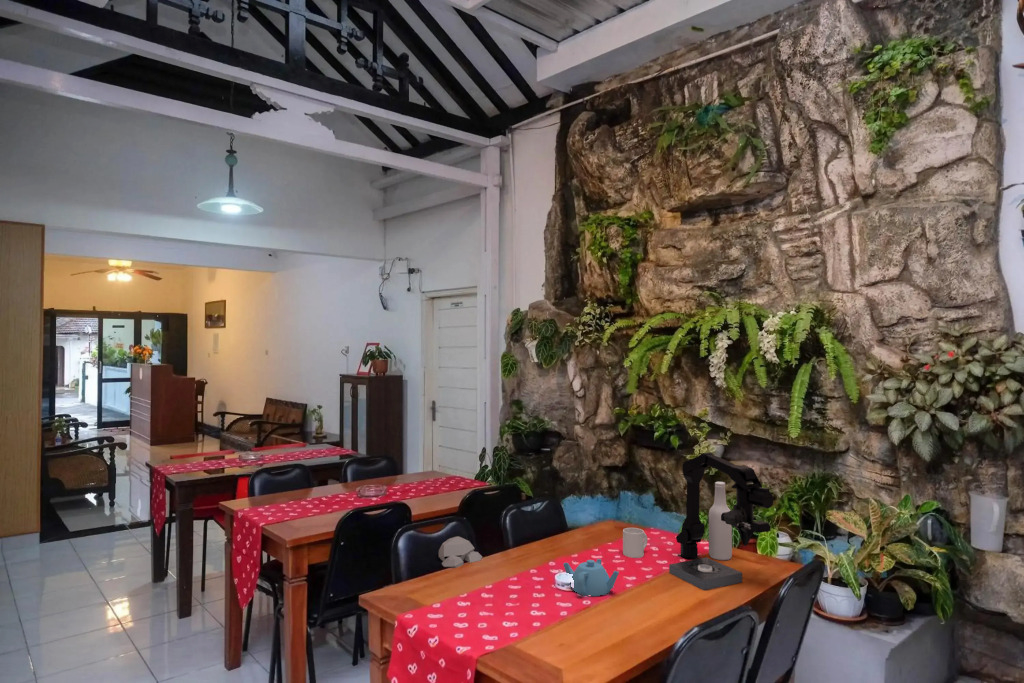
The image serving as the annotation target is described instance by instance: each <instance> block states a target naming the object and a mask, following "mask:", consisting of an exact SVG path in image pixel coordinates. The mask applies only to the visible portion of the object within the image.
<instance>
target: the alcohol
mask: <svg viewBox="0 0 1024 683" xmlns="http://www.w3.org/2000/svg"><path fill="white" fill-rule="evenodd" d="M726 495H727V494H726V482H724V481H716V482H714V497H713V498H714V500H713V504H712V506H711V507H710V508H709V511H708V556H710V559H711V558H712V560H713V559H714V560H715V561H716V560H717V561H729V560H731V558H732V557H733V541H732V540H733V526H731V525H729V524H726V522H725V521H722V520H721V515H722V513H725V512H729V511H731V509H730V508H729V507H728V505H727V497H726Z"/></svg>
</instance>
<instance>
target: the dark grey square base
mask: <svg viewBox="0 0 1024 683" xmlns="http://www.w3.org/2000/svg"><path fill="white" fill-rule="evenodd" d="M699 565H709V566H711V567H712V572H704V571H699V570H698V566H699ZM668 566H669V569H668V570H669V571H668V572H669V574H671V575H673V576H675V577H676V578H679V579H681V580H682V581H684V582H686V583H688V584H691V585H692V586H694V587H696V588H698V589H699V590H702V591H709V590H713V589H718V588H722V587H726V586H731V585H736V584H741V583H743V572H741V571H740V570H737V569H735V568H733V567H730V566H728V565H725V564H723V563H721V562H719V561H716V560H715V559H714V560H713V559H711V558H708V557H700V558H697V559H692V560H686V561H680V562H674V563H670V564H669V565H668Z"/></svg>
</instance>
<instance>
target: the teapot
mask: <svg viewBox="0 0 1024 683" xmlns="http://www.w3.org/2000/svg"><path fill="white" fill-rule="evenodd" d="M562 565H563V567H564V571H565V573H569V574H573V576H572V578H573V580H574V588H573V590H574V591H575V592H574V591H573V590H572V591H573V592H574V593H576V592H577V593H576V594H578V593H579V594H578V595H581V594H583V595H582V596H585V595H591V596H590V597H601V596H600V595H603V596H605V594H606V595H608V594H609V592H611V590H612V589H613V588H614V586H615V584H616V581H617V578H618V576H619V573H620V571H618V570H614V571H613V573H612V574H611V575H610V576H609V574H608V572H607V570H606V569H605V567H604V566H603V564H602V559H601V558H597V559H596V561H595V560H593V559H587V560H586V561H585V562H581V563H579V564H578V565H577V567H576V568H575V570H574V569H573V568H572V567H571V566H570V564H569V562H563V564H562ZM607 593H608V594H607Z"/></svg>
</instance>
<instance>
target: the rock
mask: <svg viewBox="0 0 1024 683" xmlns="http://www.w3.org/2000/svg"><path fill="white" fill-rule="evenodd" d="M445 557H447V558H445ZM438 558H439V559H440V561H442V562H441V565H442V566H443V567H444V568H453V569H454V568H459V567H462V566H464V561H466V562H468V563H475V562H480V561H481V560H482V558H483V556H482V555H481V554H480V553H479V551H475V547H474V545H473V544H472V543H471V541H470V540H468V539H465V538H463V537H461V536H460V535H459V536H453V537H450V538H448V539H446V541H444V542H443V543H442V544H441V546H440V547H439V549H438Z"/></svg>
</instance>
